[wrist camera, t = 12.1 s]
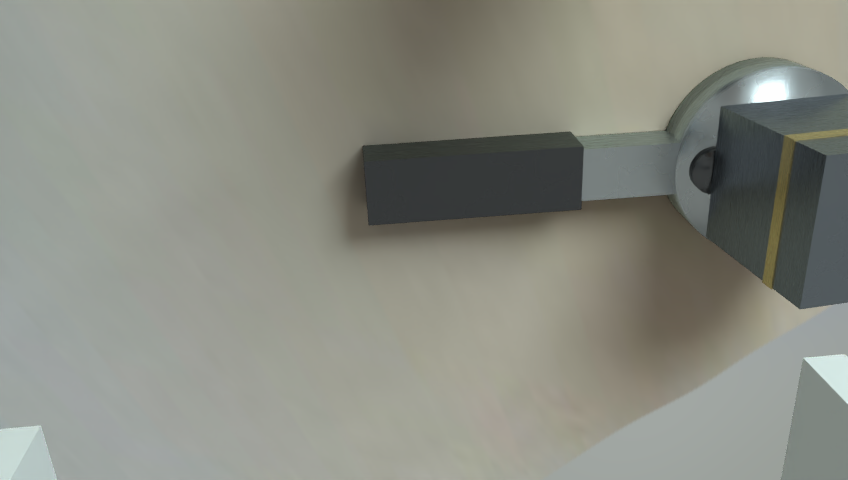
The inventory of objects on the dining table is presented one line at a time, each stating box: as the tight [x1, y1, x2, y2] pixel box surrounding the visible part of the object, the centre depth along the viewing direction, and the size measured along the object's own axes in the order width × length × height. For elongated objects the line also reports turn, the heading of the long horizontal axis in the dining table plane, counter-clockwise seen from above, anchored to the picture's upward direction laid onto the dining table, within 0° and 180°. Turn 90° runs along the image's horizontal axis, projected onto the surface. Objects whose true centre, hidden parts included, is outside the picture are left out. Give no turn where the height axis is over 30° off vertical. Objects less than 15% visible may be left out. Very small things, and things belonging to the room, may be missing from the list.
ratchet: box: [363, 57, 848, 241], centre depth 39 cm, size 26×10×8 cm, turn 92°
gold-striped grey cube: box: [706, 94, 848, 309], centre depth 37 cm, size 7×7×8 cm
